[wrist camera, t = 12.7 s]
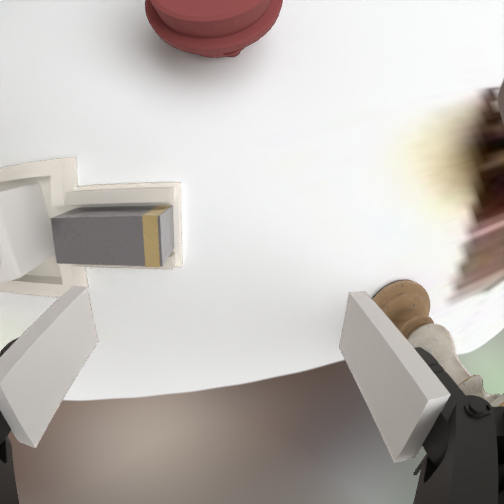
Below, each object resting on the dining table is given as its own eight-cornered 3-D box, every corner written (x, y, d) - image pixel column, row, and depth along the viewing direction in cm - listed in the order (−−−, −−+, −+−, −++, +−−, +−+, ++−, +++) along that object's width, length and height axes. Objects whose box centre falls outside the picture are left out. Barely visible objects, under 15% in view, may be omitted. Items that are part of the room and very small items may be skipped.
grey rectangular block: (76, 207, 27) (50, 217, 22) (173, 204, 27) (159, 215, 22) (80, 247, 28) (56, 264, 23) (174, 248, 28) (162, 267, 24)
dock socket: (-12, 170, 26) (-28, 173, 23) (181, 150, 27) (174, 149, 24) (2, 280, 30) (-11, 289, 27) (184, 291, 31) (179, 304, 28)
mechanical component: (237, -22, 22) (291, 47, 24) (149, 23, 23) (198, 96, 26) (240, -96, 10) (324, -13, 13) (106, -38, 11) (172, 56, 14)
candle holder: (386, 355, 35) (463, 477, 16) (348, 318, 33) (434, 460, 14) (436, 308, 34) (538, 407, 14) (404, 263, 32) (532, 367, 12)
